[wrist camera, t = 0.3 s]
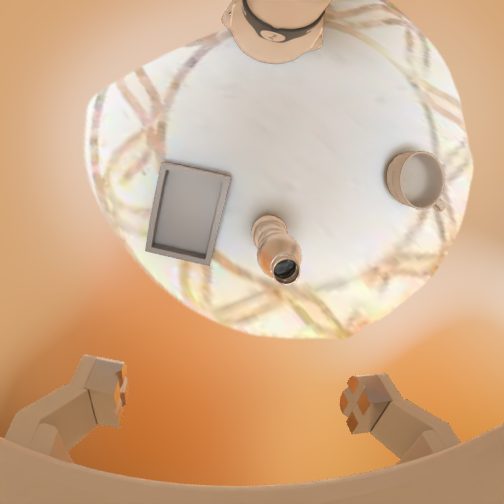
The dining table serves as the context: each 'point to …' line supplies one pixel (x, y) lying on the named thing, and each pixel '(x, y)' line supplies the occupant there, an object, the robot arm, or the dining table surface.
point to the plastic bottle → (276, 250)
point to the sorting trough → (186, 212)
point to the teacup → (417, 180)
